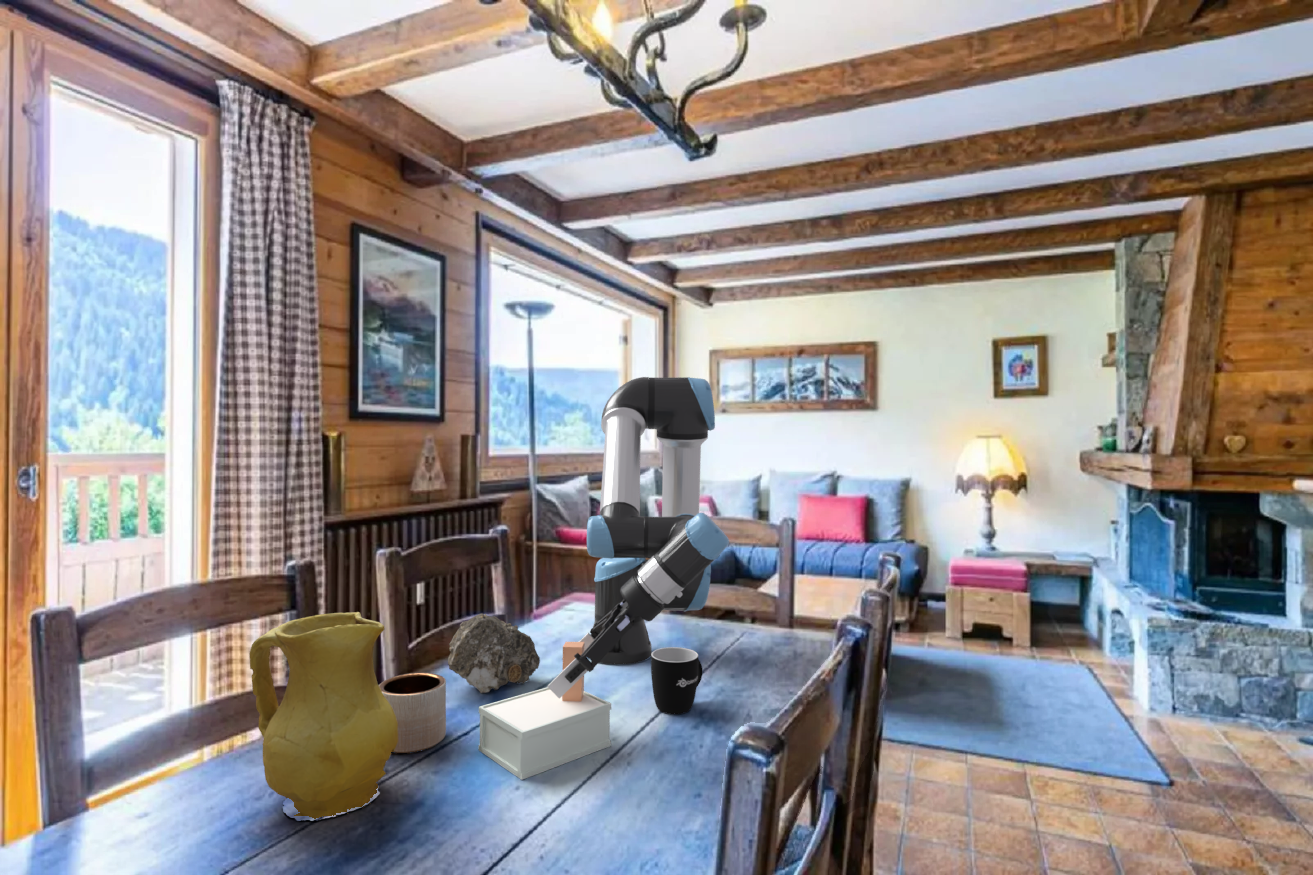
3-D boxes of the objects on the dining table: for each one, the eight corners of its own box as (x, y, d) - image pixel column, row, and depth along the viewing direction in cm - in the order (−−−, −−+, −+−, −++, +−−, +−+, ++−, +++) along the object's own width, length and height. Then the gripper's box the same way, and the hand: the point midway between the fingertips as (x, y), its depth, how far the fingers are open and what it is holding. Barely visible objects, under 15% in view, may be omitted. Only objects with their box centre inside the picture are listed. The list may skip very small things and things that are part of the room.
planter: (459, 732, 118) (459, 676, 118) (417, 760, 108) (418, 699, 108) (406, 723, 122) (407, 668, 122) (361, 749, 112) (362, 690, 112)
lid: (564, 689, 122) (564, 634, 122) (605, 709, 114) (606, 649, 114) (484, 713, 112) (485, 652, 112) (523, 736, 103) (524, 670, 103)
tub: (564, 721, 123) (565, 682, 123) (610, 745, 114) (611, 703, 114) (478, 750, 112) (478, 706, 112) (521, 780, 102) (522, 732, 102)
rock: (495, 612, 133) (474, 583, 145) (440, 672, 129) (423, 637, 142) (556, 661, 141) (531, 630, 154) (506, 719, 138) (485, 682, 151)
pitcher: (309, 845, 85) (311, 638, 86) (230, 808, 94) (233, 623, 96) (423, 790, 99) (424, 613, 100) (344, 763, 109) (346, 602, 110)
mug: (674, 722, 124) (675, 665, 124) (640, 707, 130) (641, 653, 130) (718, 704, 132) (718, 651, 132) (683, 691, 138) (684, 641, 138)
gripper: (665, 626, 103) (564, 723, 104) (667, 589, 128) (586, 668, 129) (630, 589, 104) (529, 687, 104) (639, 560, 129) (558, 639, 129)
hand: (560, 677), depth 116 cm, fingers open, 13 cm apart
